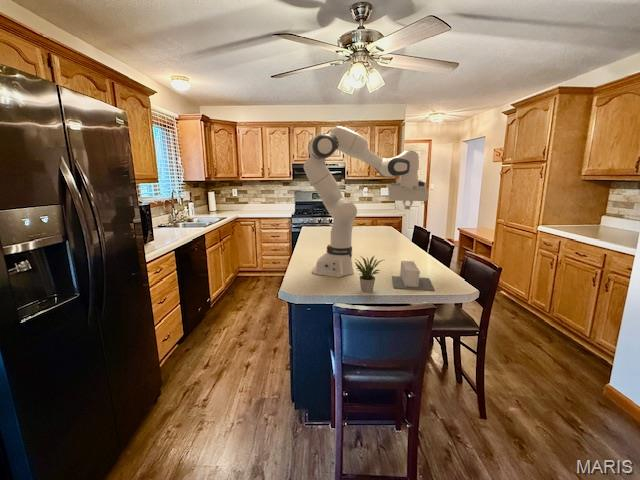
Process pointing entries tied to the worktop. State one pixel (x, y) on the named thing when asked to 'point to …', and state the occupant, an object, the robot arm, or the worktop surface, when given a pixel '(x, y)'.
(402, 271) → the skincare box
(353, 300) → the worktop surface
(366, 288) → the house plant
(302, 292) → the worktop surface
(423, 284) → the mat
